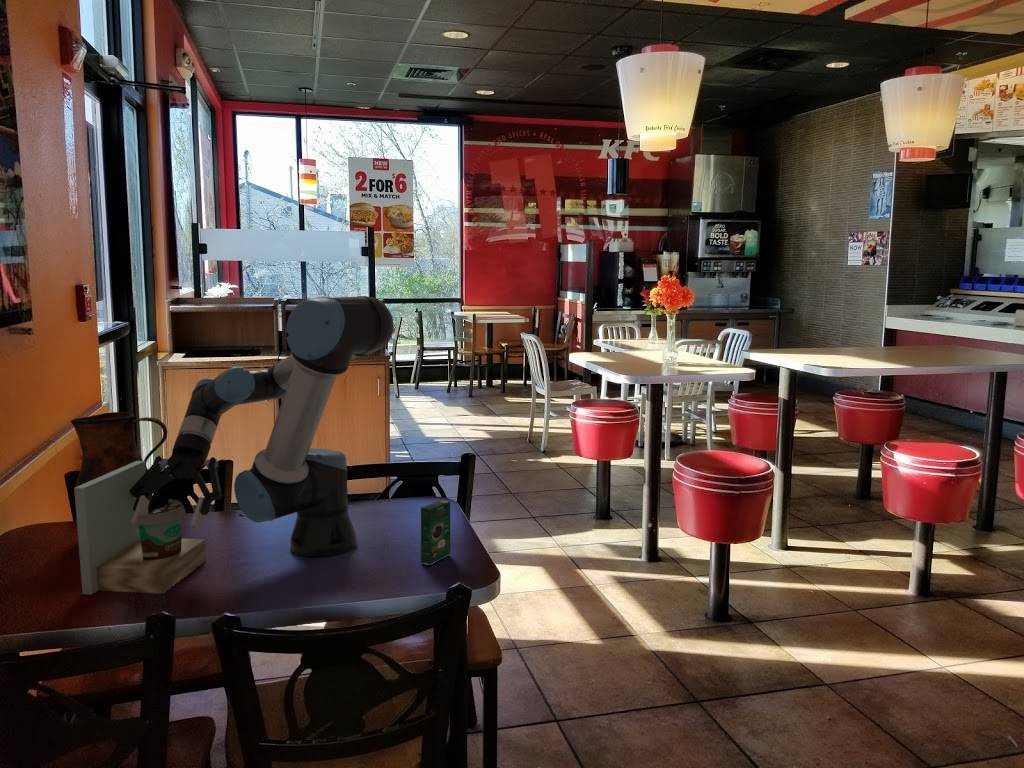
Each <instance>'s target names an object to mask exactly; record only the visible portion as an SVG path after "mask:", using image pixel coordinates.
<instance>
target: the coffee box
mask: <svg viewBox="0 0 1024 768" xmlns="http://www.w3.org/2000/svg"><path fill="white" fill-rule="evenodd" d="M448 554H450V555H451V501H449V500H444V499H440V500H438V501H435V502H433V503H430V504H427V505H425V506H422V507H420V563H421V562H422V563H428V564H431V563H433V562H435V561H437V560H439V559H441V558H442V557H444V556H446V555H448Z"/></svg>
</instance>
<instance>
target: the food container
mask: <svg viewBox="0 0 1024 768" xmlns="http://www.w3.org/2000/svg"><path fill="white" fill-rule="evenodd" d="M148 513H149V514H147V515H137V524H136V525H139V532H140V540H141V547H142V554H143V560H158V559H164V558H168V557H172V556H174V555H176V554H178V553H180V551H181V543H182V539H183V538H182V537H183V517H184V516H185V515H186V510H185V506H184V505H183V503H182V501H179V500H176V499H173V498H172V499H170V498H169V499H168V503H167V504H165V505H163V506H161V507H157V508H154V509H152V510H151V511H150V512H148Z"/></svg>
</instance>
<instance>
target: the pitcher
mask: <svg viewBox="0 0 1024 768" xmlns="http://www.w3.org/2000/svg"><path fill="white" fill-rule="evenodd" d="M137 422H152V423H155V424H157V425H159V426H160V427H161V429H162V432H163V434H162V438H161V440H160V441H159V442H158V444H156V445H155V446H154V447H153V448H152V449H151V450H150V451H149V452H148V453H147V454H146V456H145V458H144V460H143V459H142V456H141V455H140V452H139V450H138V448H137V447H138V446H137V444H136V438H135V430H134V428H135V423H137ZM70 423H71V424H72V426H73V428H74V430H75V432H76V435H77V438H78V440H79V444H80V447H81V448H80V449H81V453H82V459H81V467H80V470H79V473H78V476H77V478H76V485H75V487H77V486H80V485H82V484H84V483H87V482H89V481H91V480H94V479H96V478H98V477H101V476H103V475H105V474H108V473H110V472H112V471H114V470H117V469H119V468H121V467H124V466H126V465H128V464H131V463H133V462H135V461H145V467H146V471H147V470H148V469H149V468H148V467H147V463H148V460H149V459H150V457H151V456H152V455H153V454H154V453H155V452H156V451H157V450H159V448H160V447H161V446H162V445H163V444H164V443H165V441H166V439H167V438H168V429H167V426H166V424H165V423H164V422H162V420H160V419H158V418H154V417H149V416H145V417H139V418H135V414H134V413H132V412H127V411H113V412H112V411H109V412H104V413H100V414H95V415H89V416H84V417H79V418H73V419H71V420H70ZM152 499H153V495H151V496H150V497H149V498H148V500H149V504H148V507H150V504H151V501H152Z"/></svg>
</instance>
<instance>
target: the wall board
mask: <svg viewBox="0 0 1024 768" xmlns="http://www.w3.org/2000/svg"><path fill="white" fill-rule="evenodd" d="M145 472H146V467H145V461H144V460H143V461H135V462H133V463H131V464H128V465H126V466H124V467H121V468H119V469H117V470H114V471H112V472H110V473H108V474H105V475H103V476H101V477H98V478H96V479H94V480H91V481H89V482H87V483H84V484H82V485H80V486H77V487H76V486H75V487H73V489H74V501H75V502H74V503H75V512H76V513H75V514H76V515H75V516H76V527H77V528H76V529H77V539H78V553H79V563H80V565H79V568H80V578H81V579H80V580H81V592H82V595H94V594H95V593H96V592H98V583H97V569H96V567H97V566H99V565H100V564H102V563H104V562H105V561H107V560H109V559H110V558H112V557H113V556H115V555H117V554H118V553H120V552H122V551H123V550H125V549H127V548H128V547H130V546H131V545H133V544H135V543H136V542H138V541H140V532H139V529H136V528H135V527H134V526H133V525H132V524H131V521H132V518H133V515H134V513H135V511H134V510H133V506H134V504H135V501H136V498H135V497H134V495H133V494H132V493H131V492H130V489H131V488H132V487H133V486H134V485H135V484H136V483H137V481H138V480H139V479H140V478H141V477H142V476H143V475H144V474H145ZM149 513H150V512H149V506H148V507H147V510H146V513H145V515H147V514H149ZM93 593H94V594H93Z"/></svg>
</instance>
